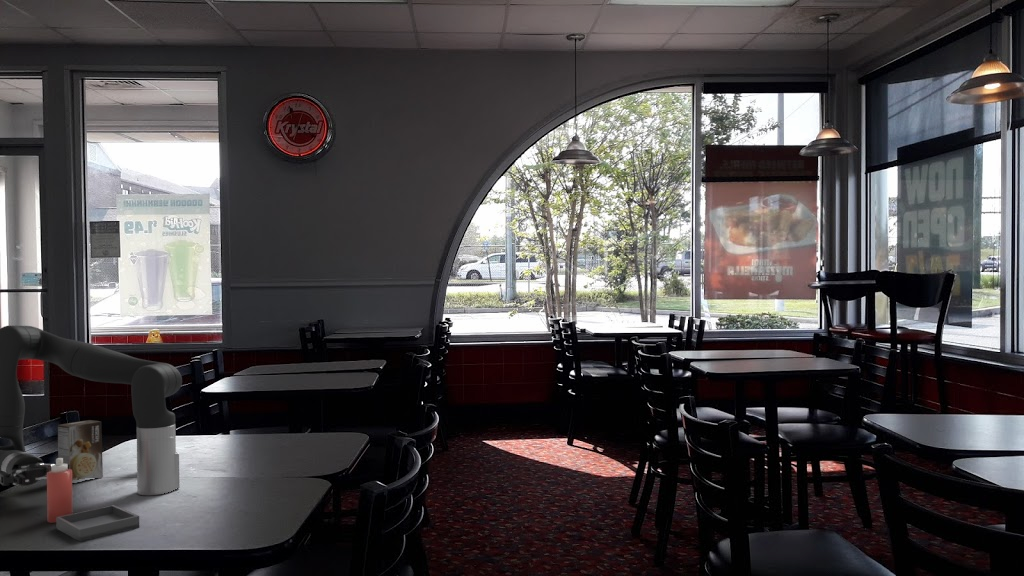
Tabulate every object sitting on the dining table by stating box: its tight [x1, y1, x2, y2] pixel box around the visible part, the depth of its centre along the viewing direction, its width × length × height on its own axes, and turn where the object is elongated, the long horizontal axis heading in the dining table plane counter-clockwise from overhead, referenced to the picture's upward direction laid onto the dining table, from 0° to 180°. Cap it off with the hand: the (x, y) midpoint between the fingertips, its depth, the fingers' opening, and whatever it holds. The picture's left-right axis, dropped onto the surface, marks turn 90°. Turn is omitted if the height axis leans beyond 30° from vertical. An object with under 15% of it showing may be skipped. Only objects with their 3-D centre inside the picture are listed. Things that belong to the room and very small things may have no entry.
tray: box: [55, 504, 140, 543], centre depth 164 cm, size 12×14×2 cm
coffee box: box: [57, 419, 104, 481], centre depth 208 cm, size 9×6×16 cm
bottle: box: [46, 457, 74, 524], centre depth 171 cm, size 5×5×14 cm
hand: (44, 477), depth 178 cm, fingers open, 8 cm apart
